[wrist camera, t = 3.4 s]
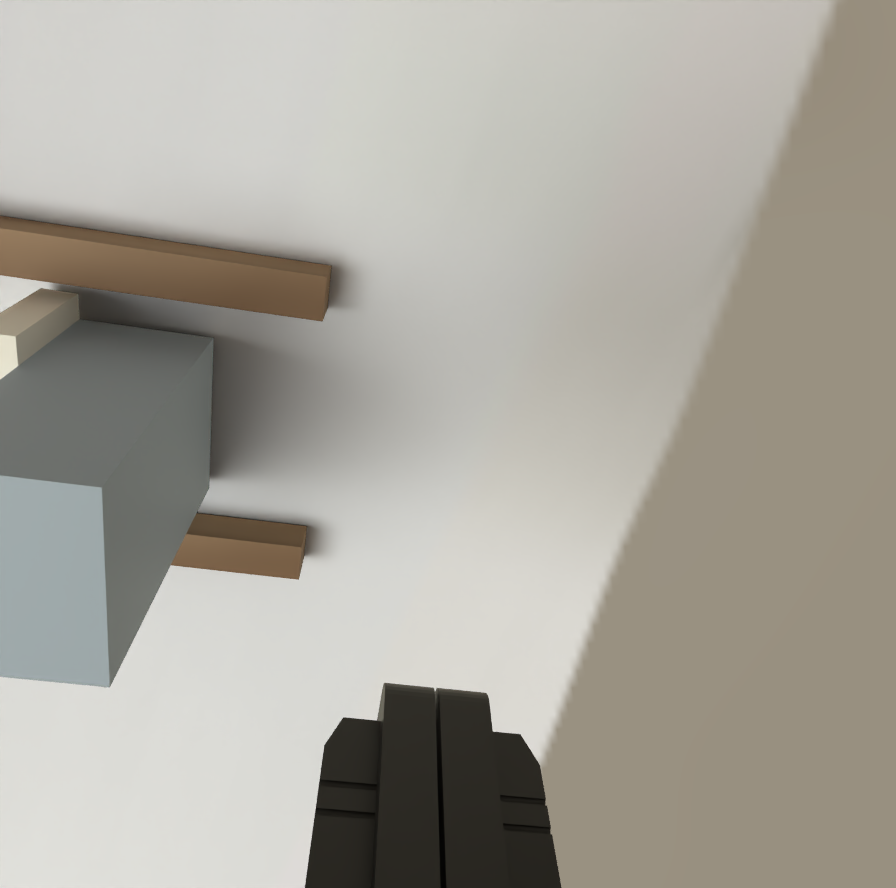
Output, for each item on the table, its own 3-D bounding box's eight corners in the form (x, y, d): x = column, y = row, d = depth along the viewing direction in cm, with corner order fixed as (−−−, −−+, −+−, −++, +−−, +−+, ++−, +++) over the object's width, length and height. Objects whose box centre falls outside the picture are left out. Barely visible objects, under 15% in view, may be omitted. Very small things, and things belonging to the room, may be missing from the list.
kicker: (40, 288, 17) (-175, 418, 11) (214, 312, 18) (100, 452, 12) (55, 489, 20) (-118, 691, 13) (208, 507, 20) (110, 713, 14)
